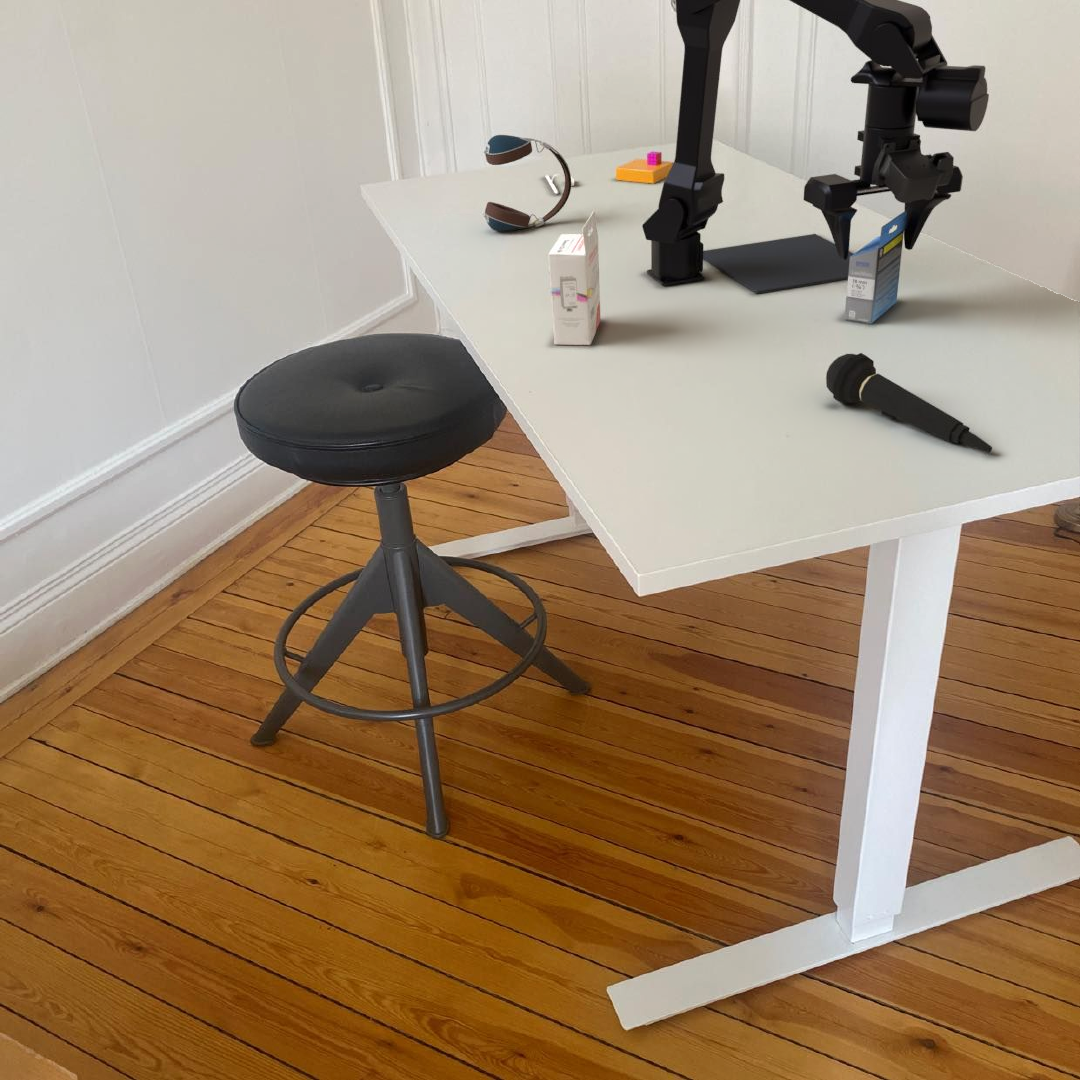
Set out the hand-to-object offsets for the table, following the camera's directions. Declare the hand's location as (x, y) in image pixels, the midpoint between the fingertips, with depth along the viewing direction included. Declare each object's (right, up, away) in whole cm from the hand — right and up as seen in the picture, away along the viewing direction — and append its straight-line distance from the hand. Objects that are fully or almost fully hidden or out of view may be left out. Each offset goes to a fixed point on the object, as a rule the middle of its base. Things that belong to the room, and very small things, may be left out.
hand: (876, 254), depth 140 cm
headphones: (-47, +16, +45) cm, 67 cm away
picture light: (-38, +31, +69) cm, 85 cm away
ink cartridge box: (-38, -10, +3) cm, 39 cm away
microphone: (-5, -24, -24) cm, 35 cm away
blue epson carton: (0, -7, +4) cm, 8 cm away
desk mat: (-6, +4, +22) cm, 24 cm away
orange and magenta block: (-22, +33, +71) cm, 81 cm away
